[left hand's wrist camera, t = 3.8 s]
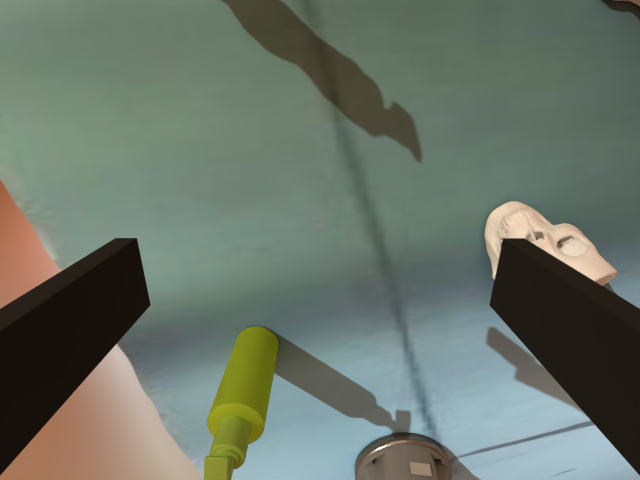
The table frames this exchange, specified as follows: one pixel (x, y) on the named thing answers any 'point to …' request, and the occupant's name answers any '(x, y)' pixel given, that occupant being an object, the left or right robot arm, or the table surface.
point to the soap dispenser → (241, 402)
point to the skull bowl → (545, 240)
